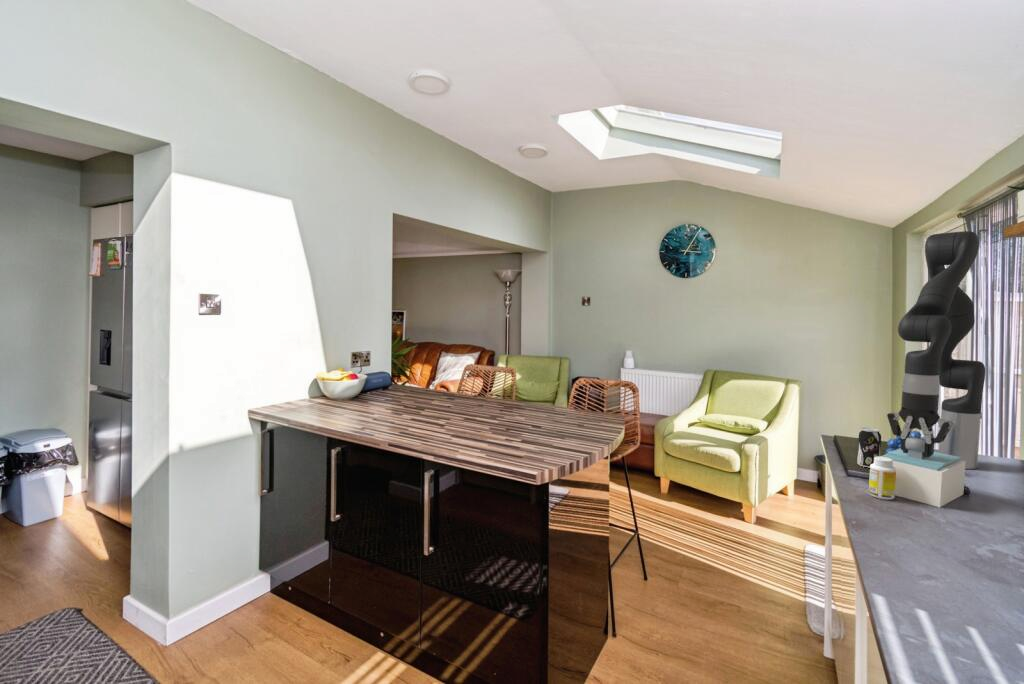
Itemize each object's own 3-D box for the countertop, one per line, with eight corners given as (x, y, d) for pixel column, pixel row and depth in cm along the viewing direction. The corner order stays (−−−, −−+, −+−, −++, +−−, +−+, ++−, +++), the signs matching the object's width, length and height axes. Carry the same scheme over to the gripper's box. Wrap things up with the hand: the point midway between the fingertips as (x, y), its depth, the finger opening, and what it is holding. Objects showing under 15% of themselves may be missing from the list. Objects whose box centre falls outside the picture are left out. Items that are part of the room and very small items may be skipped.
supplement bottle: (897, 496, 130) (899, 459, 129) (891, 502, 127) (893, 463, 126) (872, 490, 135) (874, 454, 134) (865, 495, 131) (867, 458, 130)
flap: (906, 448, 142) (907, 428, 142) (960, 459, 132) (961, 437, 131) (886, 454, 135) (888, 433, 135) (942, 466, 125) (943, 444, 125)
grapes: (934, 469, 152) (937, 431, 151) (931, 474, 147) (934, 435, 146) (887, 460, 160) (889, 424, 159) (883, 465, 155) (885, 428, 155)
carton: (900, 478, 144) (902, 446, 143) (963, 494, 132) (965, 458, 131) (874, 489, 135) (876, 455, 135) (939, 507, 123) (942, 469, 123)
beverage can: (858, 468, 153) (860, 430, 152) (856, 462, 158) (857, 426, 157) (880, 471, 150) (882, 432, 149) (878, 465, 155) (880, 428, 154)
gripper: (960, 393, 126) (956, 459, 127) (894, 386, 138) (891, 446, 139) (949, 396, 122) (944, 464, 123) (882, 388, 134) (879, 450, 135)
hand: (916, 454), depth 131 cm, fingers closed on flap, 4 cm apart
